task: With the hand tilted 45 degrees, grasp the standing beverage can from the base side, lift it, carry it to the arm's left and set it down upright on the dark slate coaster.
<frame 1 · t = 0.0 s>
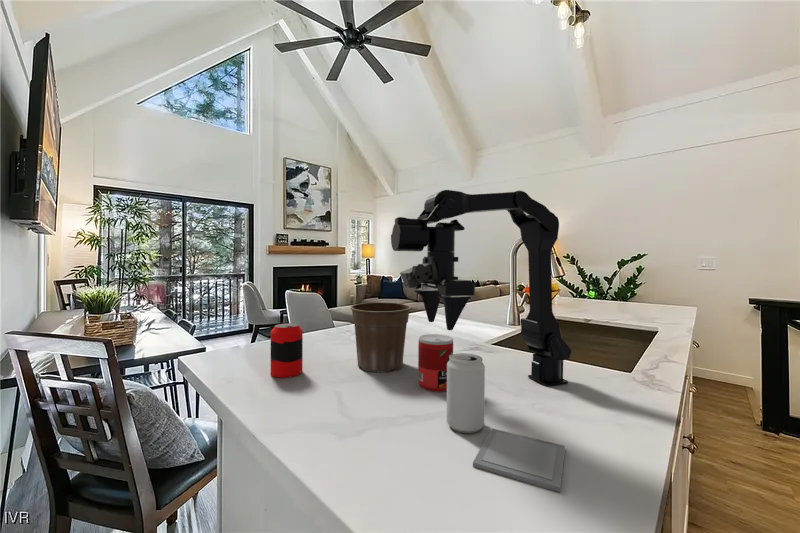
hand: (439, 325, 73), 15 cm above the worktop, tool pointing down, fingers open, 9 cm apart
canned food: (435, 386, 79), on the worktop
soda can: (286, 374, 87), on the worktop
coaster: (520, 457, 50), on the worktop
beverage can: (465, 427, 60), on the worktop
plant pot: (380, 366, 93), on the worktop
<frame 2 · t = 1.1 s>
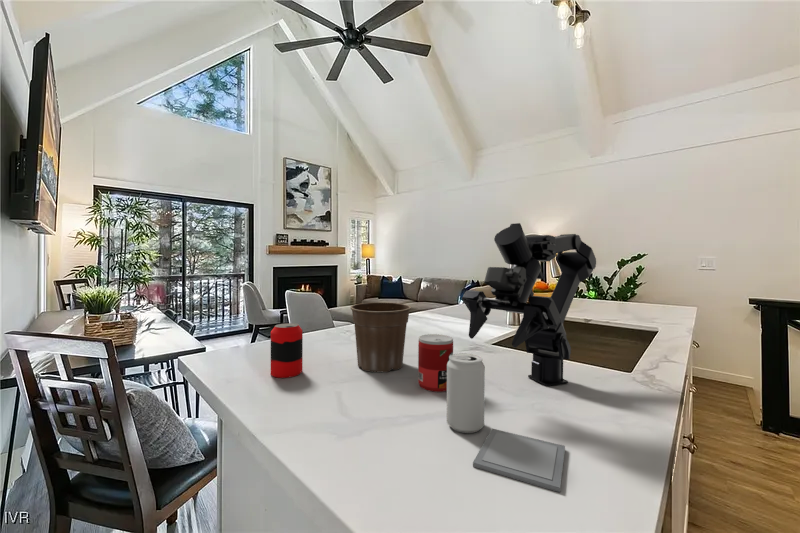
hand: (490, 341, 65), 13 cm above the worktop, tool tilted 45°, fingers open, 9 cm apart
nothing on the worktop moved.
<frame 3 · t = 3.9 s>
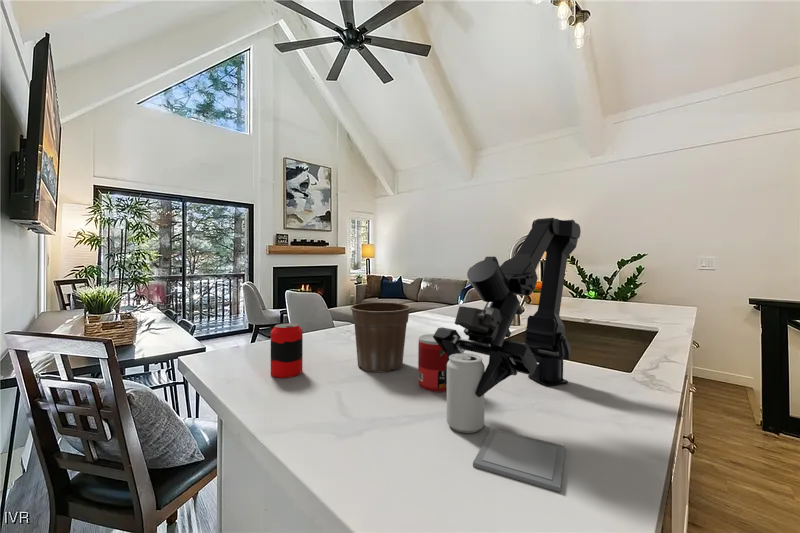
hand: (461, 390, 59), 7 cm above the worktop, tool tilted 45°, fingers closed on beverage can, 6 cm apart
beverage can: (465, 427, 60), on the worktop, touching gripper
everything else where it was.
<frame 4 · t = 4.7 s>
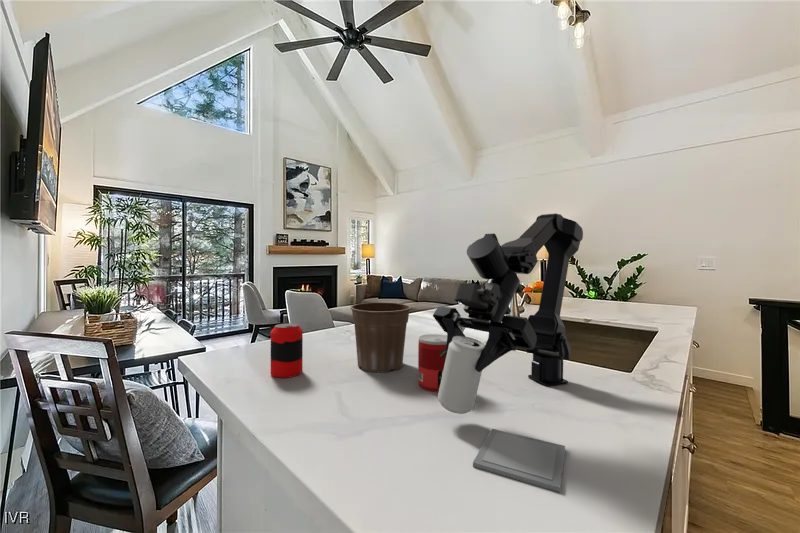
hand: (461, 366, 59), 11 cm above the worktop, tool tilted 45°, fingers closed on beverage can, 6 cm apart
beverage can: (454, 406, 61), point 3 cm above the worktop, touching gripper
everything else where it was.
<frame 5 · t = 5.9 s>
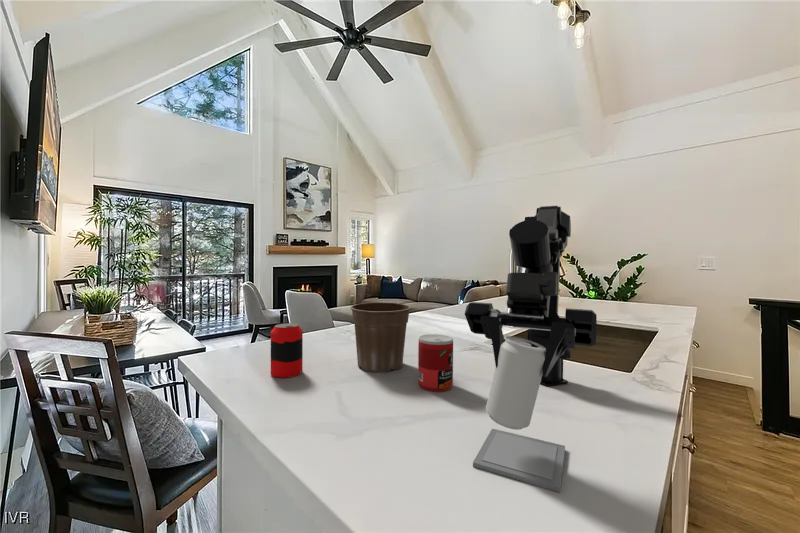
hand: (520, 371, 49), 13 cm above the worktop, tool tilted 45°, fingers closed on beverage can, 6 cm apart
beverage can: (505, 421, 51), point 5 cm above the worktop, touching gripper
everything else where it was.
when the fingers open (8 cm above the worktop, at t = 7.2 s): beverage can stays where it is, resting on coaster.
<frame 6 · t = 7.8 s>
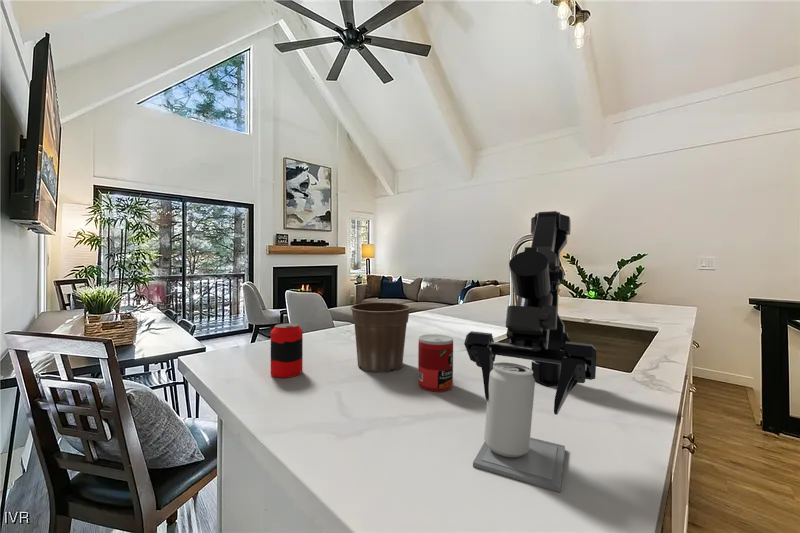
hand: (519, 406, 49), 8 cm above the worktop, tool tilted 45°, fingers open, 9 cm apart
beverage can: (505, 449, 51), point 1 cm above the worktop, touching coaster, gripper
everything else where it was.
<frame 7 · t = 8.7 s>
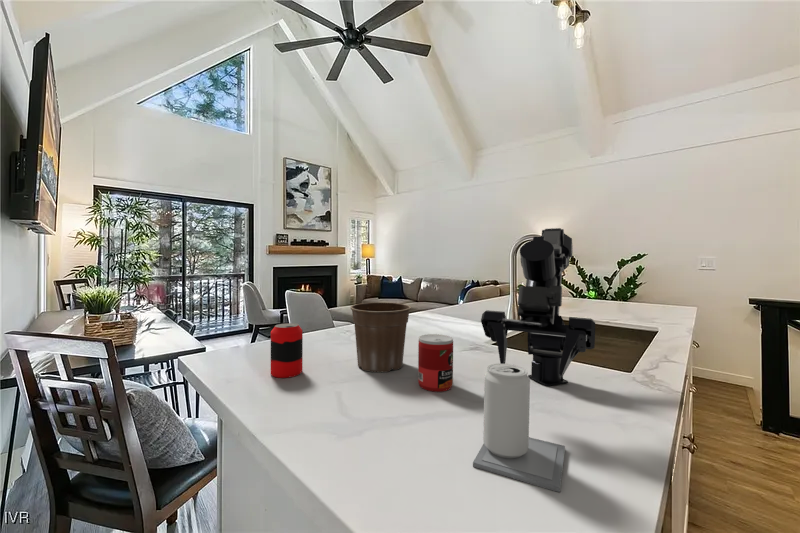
hand: (530, 370, 57), 10 cm above the worktop, tool tilted 45°, fingers open, 9 cm apart
beverage can: (505, 450, 51), point 1 cm above the worktop, touching coaster
everything else where it was.
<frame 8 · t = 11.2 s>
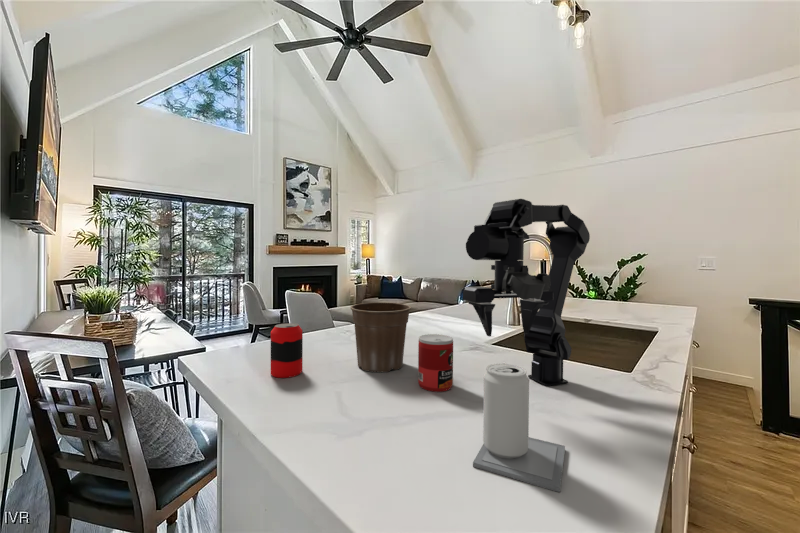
hand: (507, 334, 73), 13 cm above the worktop, tool pointing down, fingers open, 9 cm apart
nothing on the worktop moved.
at the end: beverage can inside the target area on the coaster (2.3 cm from its centre), point 0.5 cm above the coaster's base; beverage can tilted 0°; the gripper is holding nothing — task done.
